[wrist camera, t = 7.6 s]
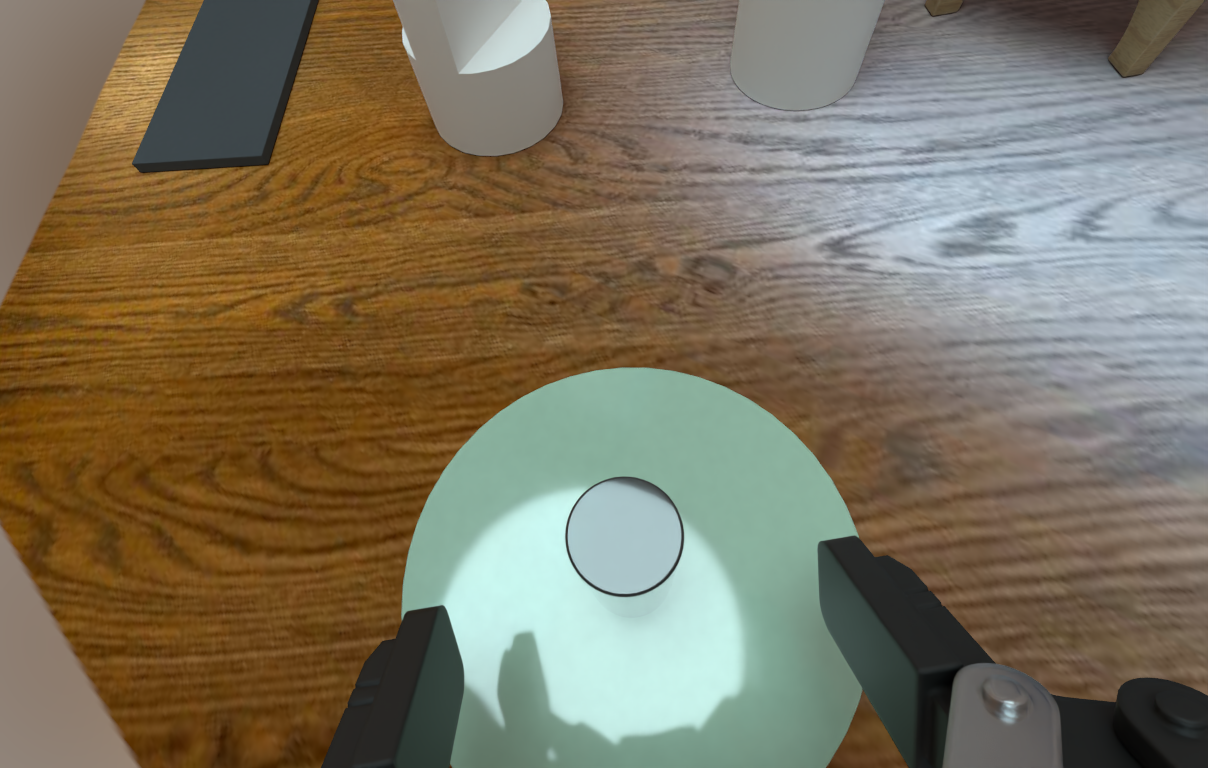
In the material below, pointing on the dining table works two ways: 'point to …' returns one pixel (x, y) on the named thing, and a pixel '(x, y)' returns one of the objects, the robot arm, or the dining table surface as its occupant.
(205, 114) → the mat
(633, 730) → the lid
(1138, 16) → the planter
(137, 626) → the dining table surface
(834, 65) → the container
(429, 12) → the base with upright slab
